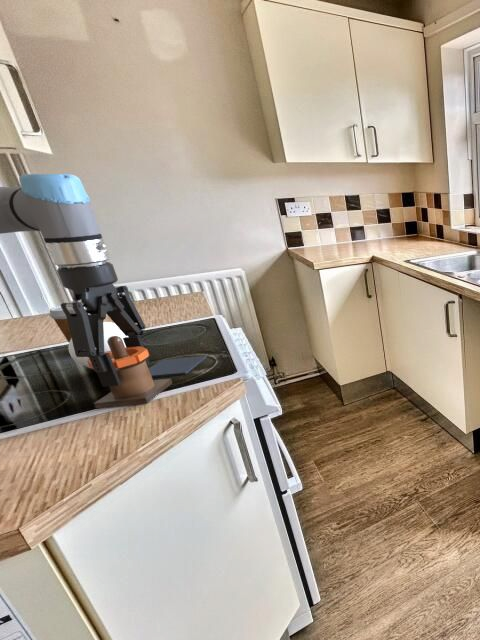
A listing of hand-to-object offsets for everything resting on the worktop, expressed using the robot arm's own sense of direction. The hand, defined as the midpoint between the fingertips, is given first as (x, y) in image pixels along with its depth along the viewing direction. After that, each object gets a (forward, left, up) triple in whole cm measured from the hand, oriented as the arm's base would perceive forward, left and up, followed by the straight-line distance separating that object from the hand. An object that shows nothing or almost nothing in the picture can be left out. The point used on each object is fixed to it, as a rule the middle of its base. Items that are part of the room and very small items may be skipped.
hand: (127, 374), depth 85 cm
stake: (0, 0, -5) cm, 5 cm away
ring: (0, 0, +3) cm, 3 cm away
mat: (0, +14, -5) cm, 15 cm away
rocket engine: (-11, +11, -5) cm, 16 cm away
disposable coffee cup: (-30, +34, -5) cm, 45 cm away
